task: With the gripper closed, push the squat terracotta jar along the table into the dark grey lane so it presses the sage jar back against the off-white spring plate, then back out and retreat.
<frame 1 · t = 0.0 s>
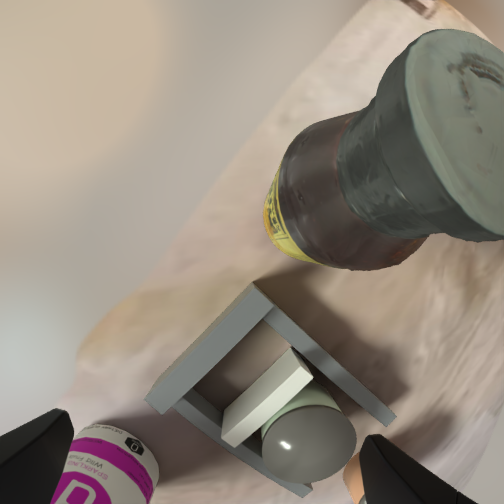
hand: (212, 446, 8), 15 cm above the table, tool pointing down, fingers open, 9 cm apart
sauce bottle: (302, 220, 24), on the table
jar sage: (296, 412, 23), resting in lane
jar terracotta: (373, 467, 23), on the table
supplement can: (118, 456, 23), on the table
lane: (285, 403, 23), on the table
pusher: (264, 396, 21), point 2 cm above the table, slide at 0.0 cm
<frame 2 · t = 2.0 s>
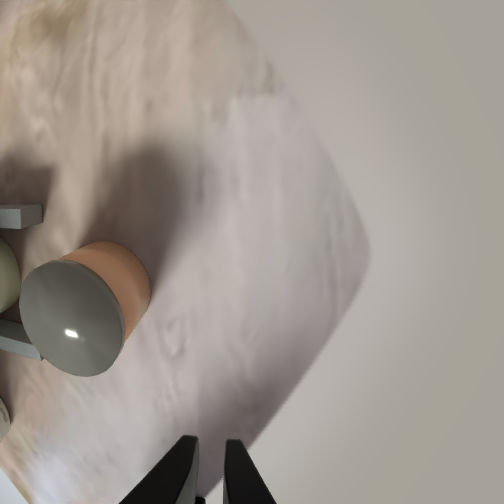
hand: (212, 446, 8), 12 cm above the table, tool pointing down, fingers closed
jar terracotta: (107, 286, 19), on the table
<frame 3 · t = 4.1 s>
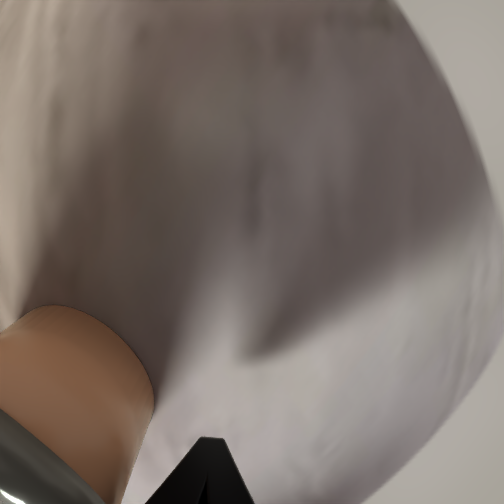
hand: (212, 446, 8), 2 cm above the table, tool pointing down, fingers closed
jar terracotta: (77, 381, 10), on the table, touching gripper
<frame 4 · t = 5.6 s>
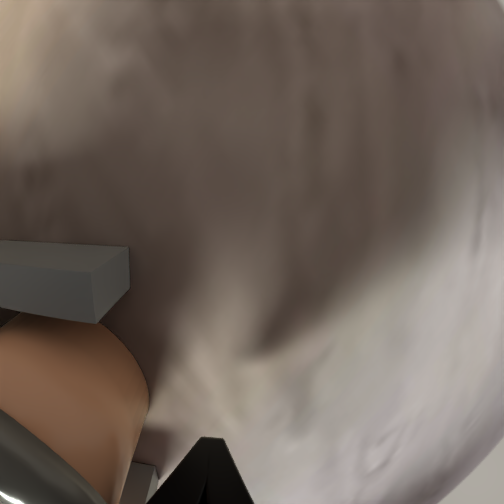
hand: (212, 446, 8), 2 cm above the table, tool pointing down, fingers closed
jar terracotta: (71, 380, 10), on the table, touching gripper, jar sage
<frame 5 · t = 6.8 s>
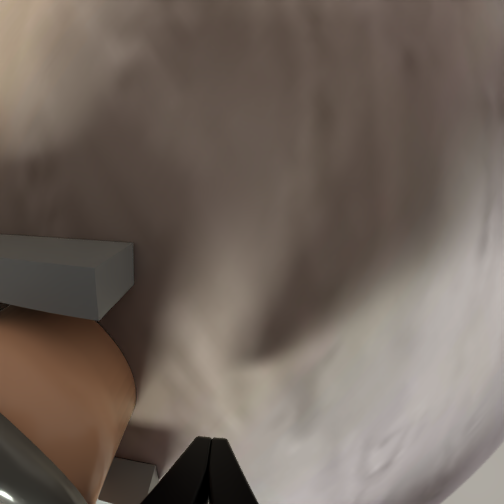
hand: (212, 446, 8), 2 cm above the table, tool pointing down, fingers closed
jar terracotta: (60, 372, 10), on the table, touching jar sage
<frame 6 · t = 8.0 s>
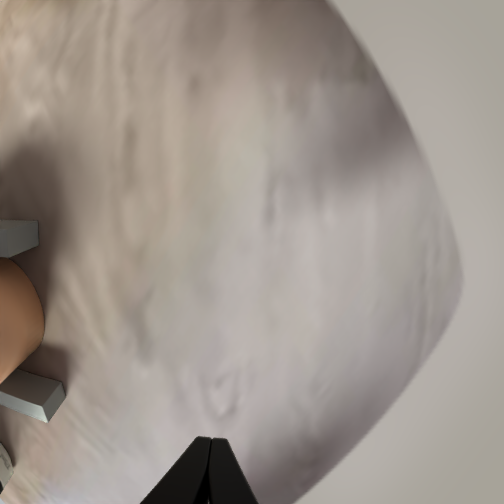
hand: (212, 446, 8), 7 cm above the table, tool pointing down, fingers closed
jar terracotta: (5, 306, 14), on the table, touching jar sage
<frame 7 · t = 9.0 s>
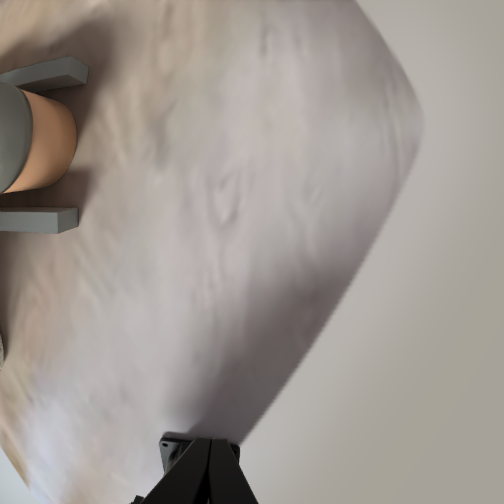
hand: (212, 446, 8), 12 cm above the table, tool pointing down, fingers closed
jar terracotta: (40, 143, 17), on the table, touching jar sage
lane: (4, 152, 17), on the table
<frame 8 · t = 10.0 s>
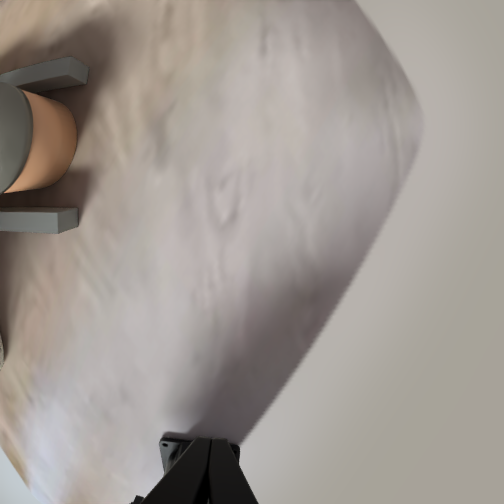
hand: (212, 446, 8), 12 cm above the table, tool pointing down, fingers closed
jar terracotta: (41, 143, 17), on the table, touching jar sage
lane: (4, 152, 17), on the table
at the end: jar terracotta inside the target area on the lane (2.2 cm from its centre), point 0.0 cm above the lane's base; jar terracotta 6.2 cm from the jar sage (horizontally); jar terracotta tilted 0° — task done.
